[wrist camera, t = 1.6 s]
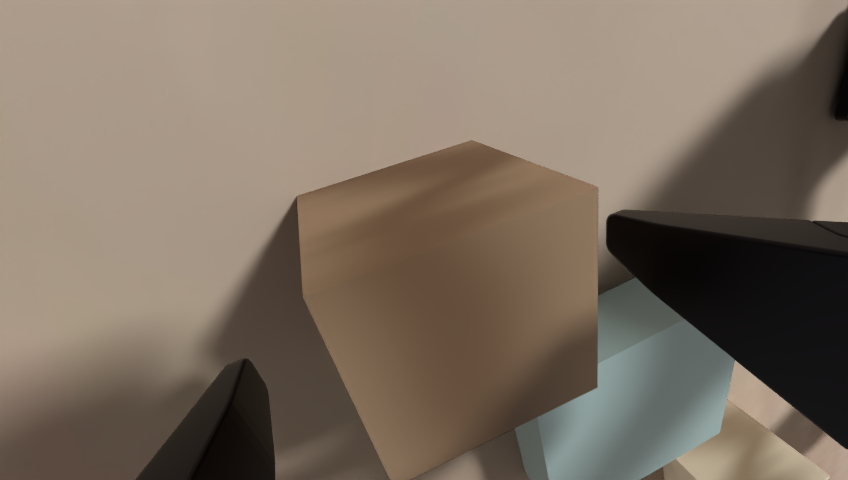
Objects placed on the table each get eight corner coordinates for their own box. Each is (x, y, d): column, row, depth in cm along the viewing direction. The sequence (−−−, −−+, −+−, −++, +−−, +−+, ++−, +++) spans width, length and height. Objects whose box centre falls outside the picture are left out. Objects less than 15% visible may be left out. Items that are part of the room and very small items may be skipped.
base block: (674, 250, 16) (750, 285, 13) (664, 386, 20) (719, 432, 17) (489, 338, 14) (532, 397, 12) (520, 464, 19) (558, 528, 16)
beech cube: (725, 397, 22) (829, 475, 18) (723, 439, 25) (814, 517, 20) (658, 441, 22) (750, 533, 18) (663, 480, 24) (744, 568, 20)
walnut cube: (470, 139, 10) (598, 187, 6) (493, 281, 13) (597, 387, 8) (296, 195, 10) (303, 297, 5) (355, 336, 12) (393, 487, 8)
